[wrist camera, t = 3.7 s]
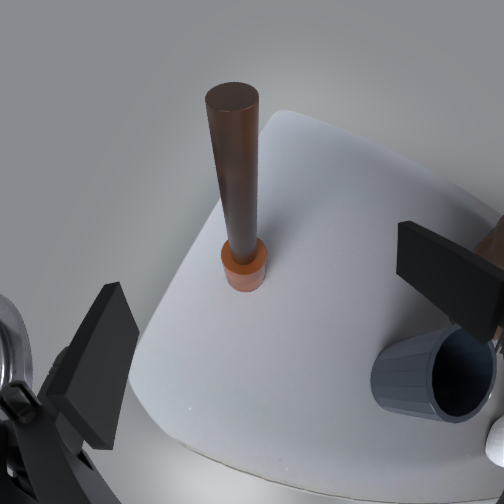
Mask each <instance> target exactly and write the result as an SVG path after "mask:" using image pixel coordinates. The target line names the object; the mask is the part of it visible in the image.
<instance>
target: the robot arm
mask: <svg viewBox="0 0 504 504" xmlns="http://www.w3.org/2000/svg"><path fill="white" fill-rule="evenodd" d="M396 274H397V275H399V276H400V277H401V278H402V279H404V280H405V281H406V282H408V283H409V284H410V285H411V286H413V287H414V288H415V289H416V290H418V291H419V292H420V293H421V294H422V295H424V296H425V297H426V298H427V299H429V300H430V301H431V302H432V303H433V304H435V305H436V306H437V307H438V308H439V309H441V310H442V311H443V312H444V313H445V314H446V315H448V316H449V317H450V318H451V319H452V320H453V321H455V322H456V323H457V324H458V325H459V326H460V327H461V328H463V329H464V330H465V331H466V332H467V333H468V334H469V335H470V336H472V337H473V338H474V339H475V340H476V341H477V342H478V343H479V344H480V345H481V346H483V345H484V344H486V343H487V342H489V341H490V340H492V339H493V338H494V335H495V332H496V329H497V327H498V326H499V327H501V328H502V332H501V334H500V337H499V340H498V342H497V345H496V347H495V352H494V353H497V351H498V349H499V347H501V346H502V348H501V351H500V353H502V354H503V358H504V270H502V269H501V268H499V267H497V266H496V265H494V264H492V263H490V262H489V261H487V260H485V259H483V258H482V257H480V256H478V255H476V254H474V253H473V252H471V251H469V250H467V249H465V248H463V247H462V246H460V245H458V244H456V243H454V242H452V241H450V240H448V239H446V238H444V237H442V236H440V235H438V234H436V233H434V232H432V231H430V230H428V229H426V228H424V227H422V226H420V225H418V224H416V223H414V222H412V221H405V222H400V223H398V246H397V268H396ZM138 336H139V330H138V327H137V325H136V323H135V320H134V318H133V316H132V313H131V311H130V308H129V306H128V303H127V301H126V298H125V296H124V293H123V290H122V288H121V285H120V282H115V283H110V284H106V285H104V286H103V288H102V290H101V291H100V293H99V294H98V296H97V298H96V299H95V301H94V303H93V304H92V306H91V308H90V310H89V311H88V313H87V315H86V316H85V318H84V320H83V322H82V323H81V325H80V327H79V329H78V330H77V332H76V334H75V336H74V338H73V340H72V341H71V343H70V345H69V347H65V348H64V349H63V350H62V351H61V353H60V354H59V355H58V356H57V358H56V359H55V361H54V363H53V367H51V369H50V371H49V375H47V377H46V379H45V381H44V383H43V385H42V387H41V389H40V391H39V393H38V395H37V397H36V396H35V394H34V393H33V392H32V390H31V389H30V388H29V386H28V385H27V384H26V382H25V381H23V380H14V381H12V382H10V383H8V384H7V380H8V369H9V363H8V351H7V345H6V341H5V337H4V334H3V331H2V329H1V327H0V409H1V410H2V411H3V412H4V414H5V415H6V416H7V417H8V418H9V419H8V420H3V421H2V420H1V419H0V504H121V503H120V501H119V500H118V499H117V498H116V496H115V495H114V493H113V492H112V491H111V489H110V488H109V486H108V485H107V484H106V482H105V481H104V479H103V478H102V476H101V475H100V473H99V472H98V470H97V469H96V467H95V466H94V464H93V463H92V461H91V459H90V458H89V456H88V454H87V453H86V452H85V451H84V450H83V449H82V445H83V441H84V440H85V441H86V442H87V443H88V444H89V445H90V446H91V447H92V448H93V449H99V450H113V445H114V439H115V434H116V429H117V424H118V419H119V414H120V409H121V404H122V400H123V395H124V391H125V387H126V383H127V378H128V374H129V370H130V366H131V363H132V359H133V355H134V351H135V347H136V344H137V340H138ZM7 467H8V468H10V469H11V470H12V471H13V477H11V476H10V475H9V474H8V472H7ZM496 504H504V490H503V493H502V495H501V496H500V498H499V500H498V501H497V503H496Z"/></svg>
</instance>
